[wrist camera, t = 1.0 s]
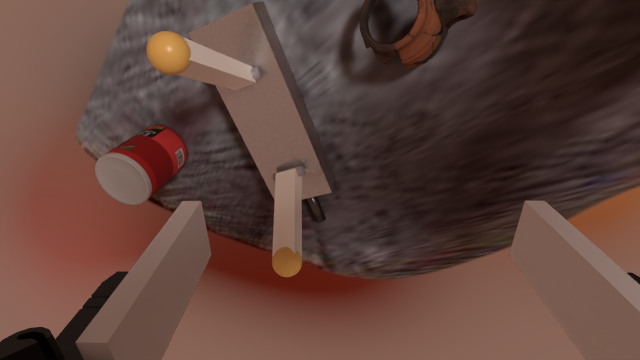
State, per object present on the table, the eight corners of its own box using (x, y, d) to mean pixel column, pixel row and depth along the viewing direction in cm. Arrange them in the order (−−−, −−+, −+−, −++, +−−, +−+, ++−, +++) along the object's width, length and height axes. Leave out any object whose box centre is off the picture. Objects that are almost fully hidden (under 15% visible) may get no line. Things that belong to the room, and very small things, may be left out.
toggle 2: (297, 159, 46) (296, 269, 38) (308, 172, 49) (310, 277, 41) (268, 167, 47) (262, 275, 39) (281, 179, 50) (278, 282, 42)
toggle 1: (257, 59, 42) (168, 16, 27) (265, 88, 42) (180, 60, 27) (227, 71, 43) (128, 36, 29) (235, 99, 43) (139, 77, 29)
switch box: (263, 1, 41) (252, 3, 38) (347, 209, 55) (345, 224, 52) (200, 30, 44) (184, 34, 41) (295, 220, 58) (289, 235, 55)
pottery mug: (390, 82, 44) (362, 74, 37) (374, 10, 44) (343, -10, 37) (491, 45, 37) (478, 28, 31) (472, -39, 37) (456, -76, 31)
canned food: (163, 114, 52) (114, 144, 43) (199, 155, 55) (160, 191, 45) (134, 138, 55) (83, 171, 46) (169, 175, 58) (128, 213, 48)
